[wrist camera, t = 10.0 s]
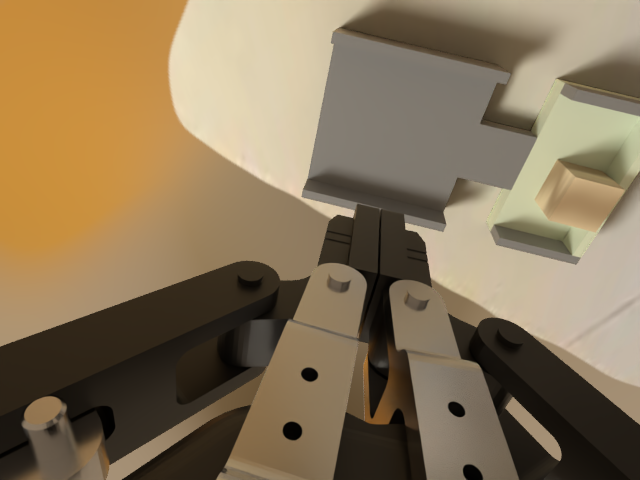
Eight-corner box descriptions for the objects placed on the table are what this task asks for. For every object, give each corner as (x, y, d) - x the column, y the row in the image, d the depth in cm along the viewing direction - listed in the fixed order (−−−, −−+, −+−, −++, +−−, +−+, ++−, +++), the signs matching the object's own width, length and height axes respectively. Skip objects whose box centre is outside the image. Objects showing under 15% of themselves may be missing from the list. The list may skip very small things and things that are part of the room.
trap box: (339, 27, 34) (333, 31, 30) (645, 99, 33) (678, 113, 29) (309, 178, 41) (301, 197, 37) (558, 239, 41) (576, 264, 37)
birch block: (557, 159, 35) (575, 177, 31) (602, 171, 35) (625, 190, 31) (534, 199, 37) (548, 220, 33) (576, 210, 37) (595, 232, 33)
